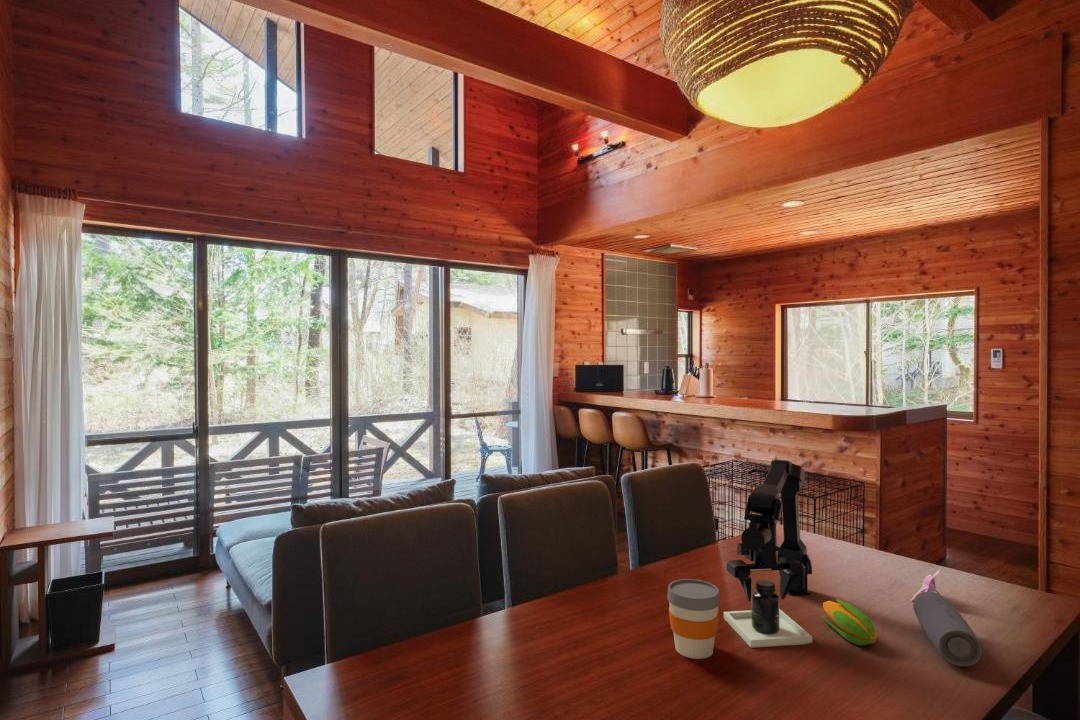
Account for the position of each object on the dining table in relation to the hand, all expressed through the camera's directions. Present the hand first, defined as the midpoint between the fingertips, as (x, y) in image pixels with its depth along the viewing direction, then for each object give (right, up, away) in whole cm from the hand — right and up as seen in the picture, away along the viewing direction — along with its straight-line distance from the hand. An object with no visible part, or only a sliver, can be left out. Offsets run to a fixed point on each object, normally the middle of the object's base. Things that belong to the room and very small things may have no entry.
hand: (765, 599), depth 150 cm
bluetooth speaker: (+40, -8, -10) cm, 42 cm away
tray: (0, -8, 0) cm, 8 cm away
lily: (+54, -7, +17) cm, 57 cm away
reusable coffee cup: (-21, -9, -9) cm, 24 cm away
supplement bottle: (0, -8, 0) cm, 8 cm away
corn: (+20, -8, -2) cm, 22 cm away
